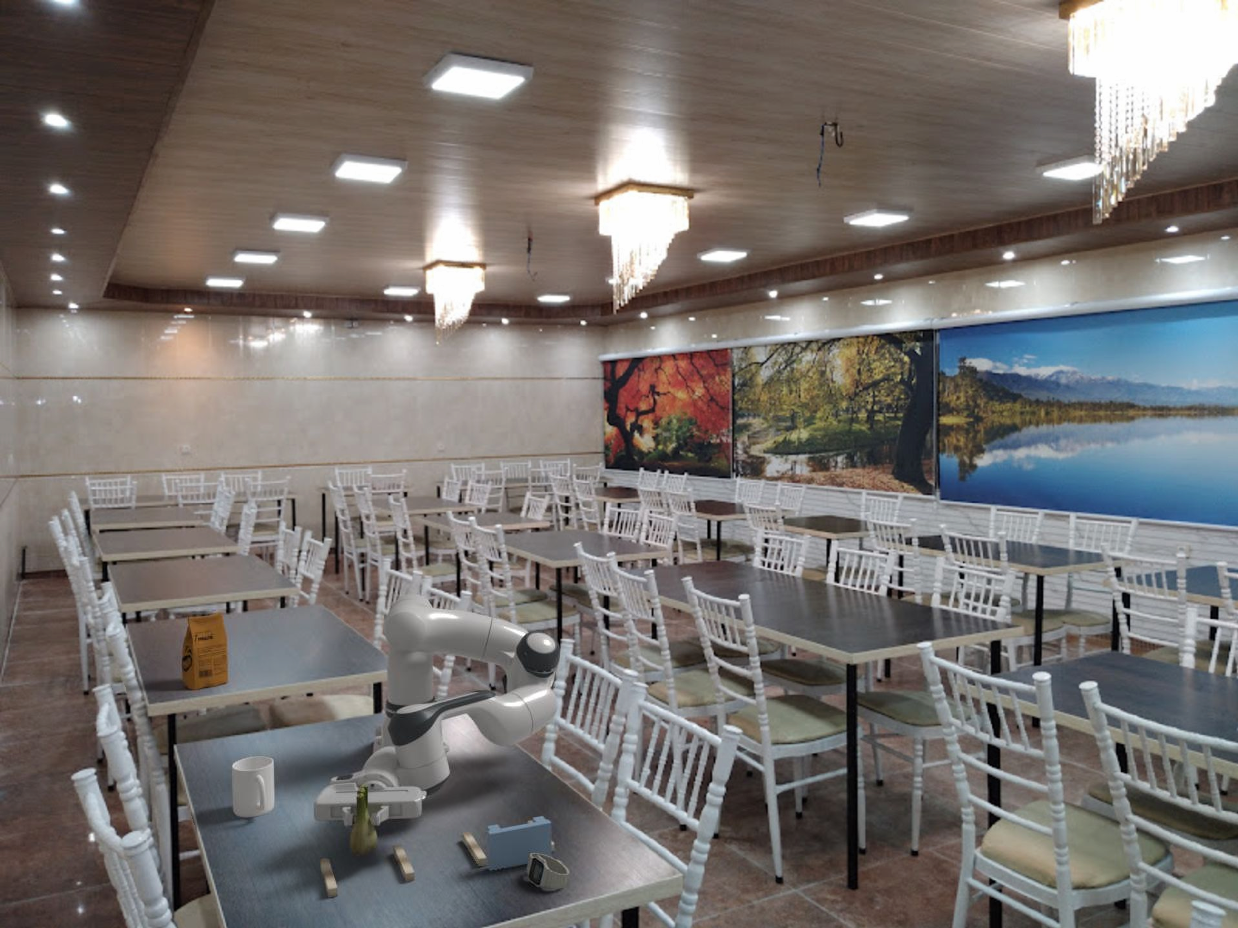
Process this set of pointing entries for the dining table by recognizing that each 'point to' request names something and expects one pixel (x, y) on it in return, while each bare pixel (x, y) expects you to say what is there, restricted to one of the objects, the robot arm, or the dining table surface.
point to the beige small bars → (406, 862)
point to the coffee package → (205, 652)
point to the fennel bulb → (363, 826)
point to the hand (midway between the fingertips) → (361, 821)
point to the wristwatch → (547, 871)
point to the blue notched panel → (518, 843)
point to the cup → (253, 786)
